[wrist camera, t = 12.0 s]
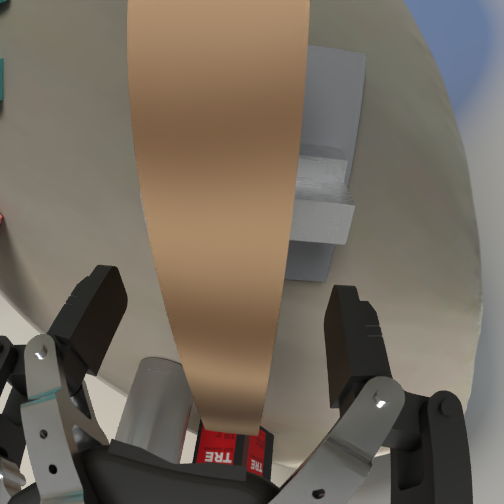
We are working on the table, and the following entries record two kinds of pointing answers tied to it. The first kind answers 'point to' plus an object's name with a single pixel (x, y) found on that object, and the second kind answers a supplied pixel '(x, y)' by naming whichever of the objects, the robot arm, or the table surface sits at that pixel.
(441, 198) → the table surface
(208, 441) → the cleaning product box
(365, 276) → the table surface
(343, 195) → the ridge stand
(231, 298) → the batten
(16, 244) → the table surface
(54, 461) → the robot arm
